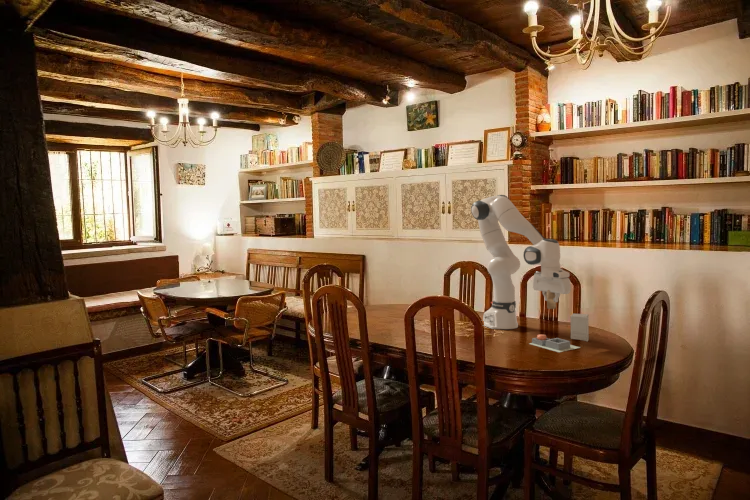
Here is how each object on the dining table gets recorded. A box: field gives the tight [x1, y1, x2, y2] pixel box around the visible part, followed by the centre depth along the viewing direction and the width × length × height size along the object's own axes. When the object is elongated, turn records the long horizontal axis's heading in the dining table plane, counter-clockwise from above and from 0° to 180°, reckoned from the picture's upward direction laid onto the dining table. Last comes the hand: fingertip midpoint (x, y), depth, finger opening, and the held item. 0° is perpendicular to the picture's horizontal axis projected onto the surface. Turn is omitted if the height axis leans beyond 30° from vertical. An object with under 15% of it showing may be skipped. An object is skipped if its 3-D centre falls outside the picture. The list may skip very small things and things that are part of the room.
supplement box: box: [570, 313, 590, 342], centre depth 253 cm, size 7×7×13 cm
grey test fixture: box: [528, 337, 581, 353], centre depth 240 cm, size 18×14×4 cm
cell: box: [546, 290, 557, 310], centre depth 251 cm, size 4×4×10 cm
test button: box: [536, 334, 547, 341], centre depth 244 cm, size 4×4×2 cm
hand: (551, 301), depth 251 cm, fingers closed on cell, 4 cm apart
